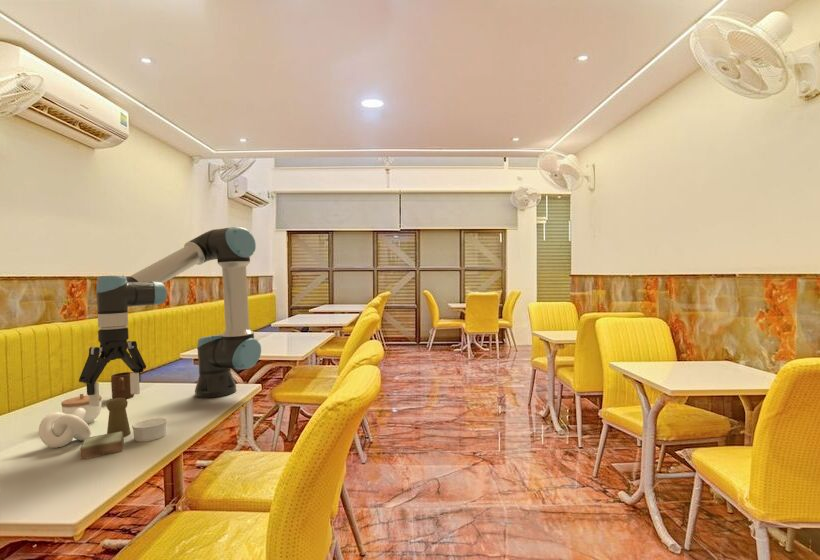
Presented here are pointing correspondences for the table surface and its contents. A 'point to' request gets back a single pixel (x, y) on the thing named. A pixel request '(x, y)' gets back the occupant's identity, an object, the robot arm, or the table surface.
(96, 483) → the table surface
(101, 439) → the stand
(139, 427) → the ramekin
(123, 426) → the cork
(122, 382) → the mug
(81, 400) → the lidded jar
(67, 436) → the white decorative knot
